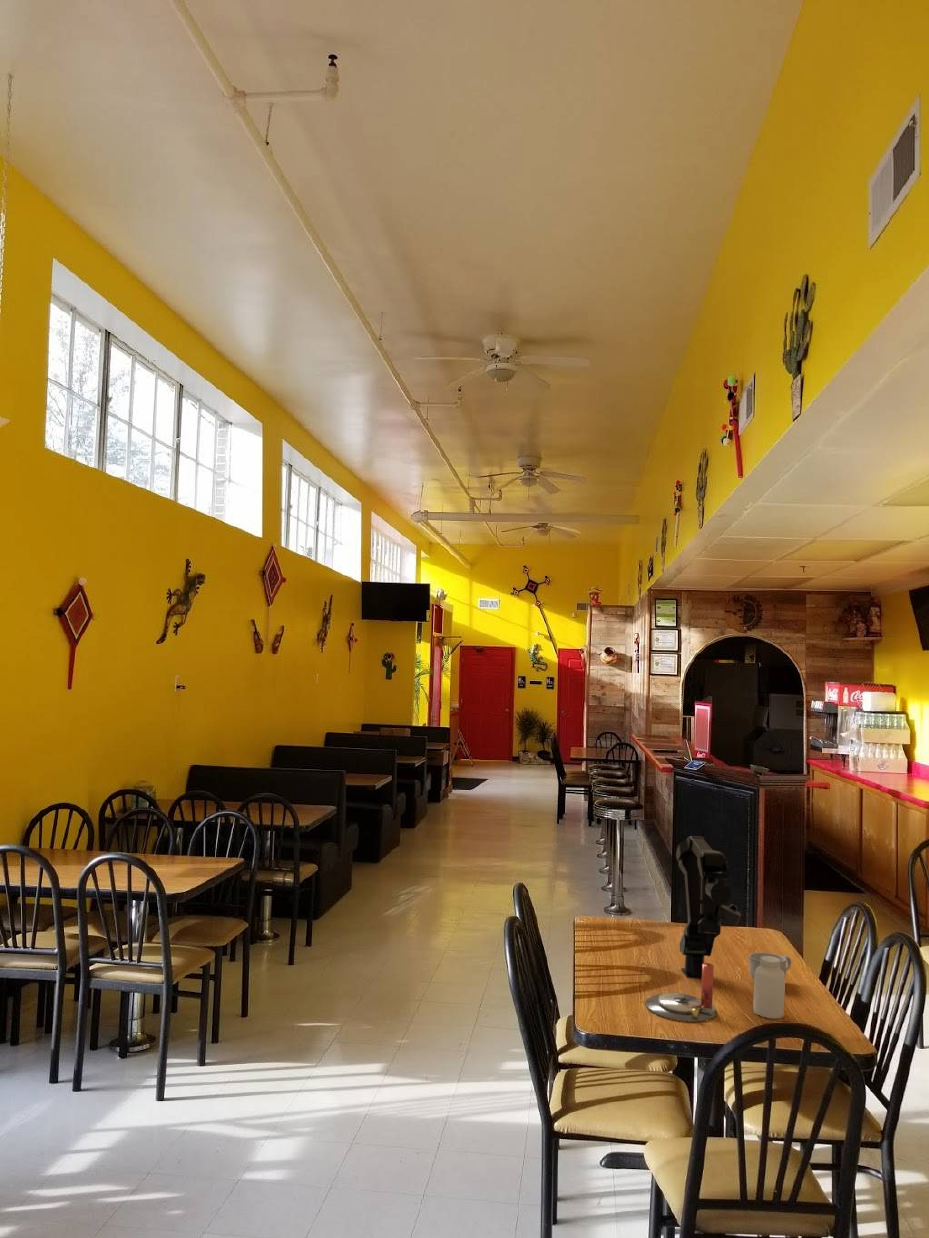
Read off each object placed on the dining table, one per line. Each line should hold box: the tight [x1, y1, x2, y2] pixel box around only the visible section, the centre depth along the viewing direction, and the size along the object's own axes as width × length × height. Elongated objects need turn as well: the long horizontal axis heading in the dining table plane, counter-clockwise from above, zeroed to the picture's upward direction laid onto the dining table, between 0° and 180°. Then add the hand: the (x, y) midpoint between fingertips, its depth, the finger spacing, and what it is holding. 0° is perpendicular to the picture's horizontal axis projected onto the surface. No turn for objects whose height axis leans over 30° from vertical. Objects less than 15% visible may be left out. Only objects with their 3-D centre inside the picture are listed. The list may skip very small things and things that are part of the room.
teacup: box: [748, 952, 792, 981], centre depth 274 cm, size 14×11×8 cm
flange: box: [658, 962, 716, 1014], centre depth 248 cm, size 15×12×12 cm
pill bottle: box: [752, 956, 786, 1020], centre depth 248 cm, size 8×8×15 cm
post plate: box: [645, 993, 717, 1023], centre depth 249 cm, size 19×19×3 cm
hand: (709, 950), depth 263 cm, fingers open, 9 cm apart
